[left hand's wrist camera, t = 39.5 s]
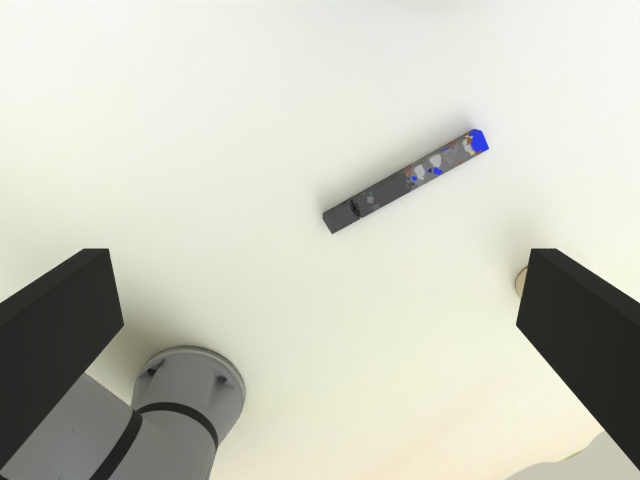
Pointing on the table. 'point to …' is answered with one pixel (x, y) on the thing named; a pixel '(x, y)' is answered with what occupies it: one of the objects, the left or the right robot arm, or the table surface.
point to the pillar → (406, 180)
